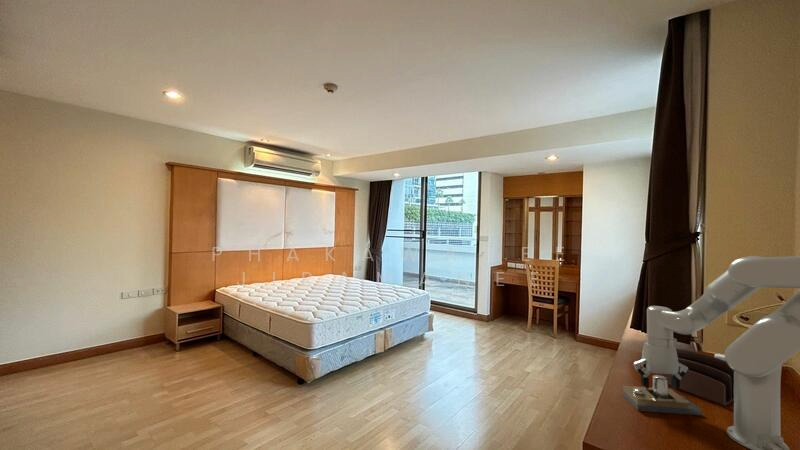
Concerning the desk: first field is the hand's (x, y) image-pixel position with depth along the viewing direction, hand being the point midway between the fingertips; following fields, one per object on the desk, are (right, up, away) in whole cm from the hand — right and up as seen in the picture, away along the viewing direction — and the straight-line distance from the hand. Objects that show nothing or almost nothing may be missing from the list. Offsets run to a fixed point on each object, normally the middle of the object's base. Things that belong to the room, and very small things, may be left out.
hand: (660, 387), depth 119 cm
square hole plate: (0, -6, 0) cm, 6 cm away
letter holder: (+23, -7, +10) cm, 26 cm away
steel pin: (0, -6, 0) cm, 6 cm away
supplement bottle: (+42, -6, +20) cm, 47 cm away
